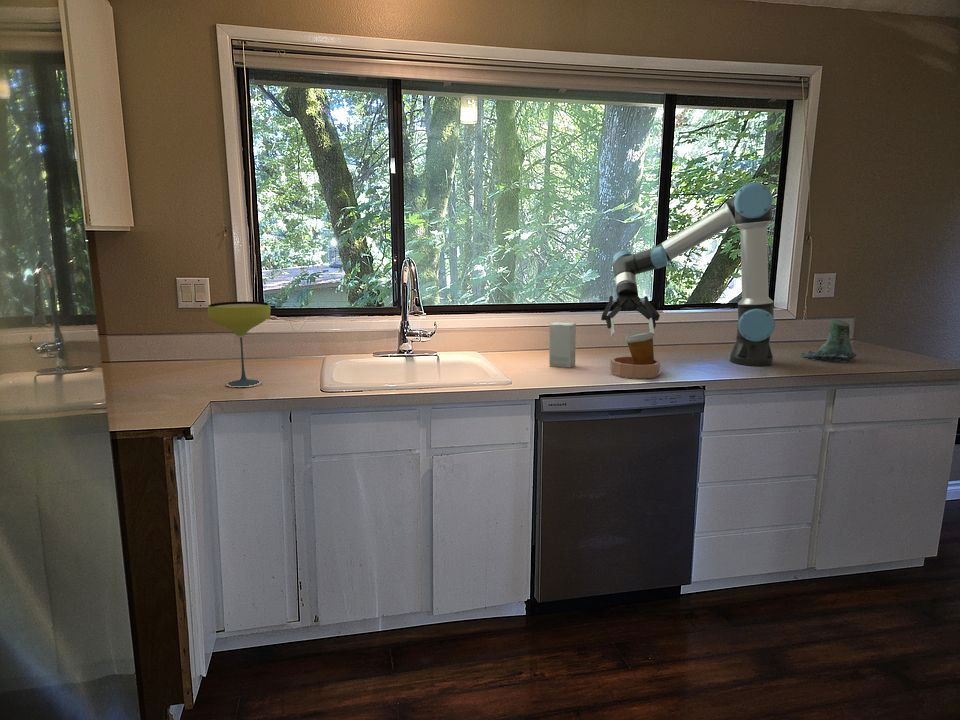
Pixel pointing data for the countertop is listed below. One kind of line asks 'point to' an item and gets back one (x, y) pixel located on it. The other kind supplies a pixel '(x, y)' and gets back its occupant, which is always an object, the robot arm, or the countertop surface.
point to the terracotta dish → (633, 368)
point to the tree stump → (834, 345)
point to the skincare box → (562, 344)
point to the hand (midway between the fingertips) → (632, 335)
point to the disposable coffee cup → (641, 348)
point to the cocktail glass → (239, 324)
